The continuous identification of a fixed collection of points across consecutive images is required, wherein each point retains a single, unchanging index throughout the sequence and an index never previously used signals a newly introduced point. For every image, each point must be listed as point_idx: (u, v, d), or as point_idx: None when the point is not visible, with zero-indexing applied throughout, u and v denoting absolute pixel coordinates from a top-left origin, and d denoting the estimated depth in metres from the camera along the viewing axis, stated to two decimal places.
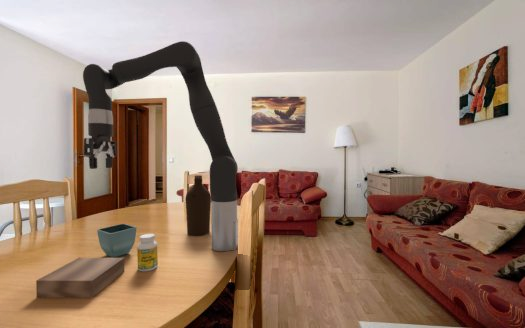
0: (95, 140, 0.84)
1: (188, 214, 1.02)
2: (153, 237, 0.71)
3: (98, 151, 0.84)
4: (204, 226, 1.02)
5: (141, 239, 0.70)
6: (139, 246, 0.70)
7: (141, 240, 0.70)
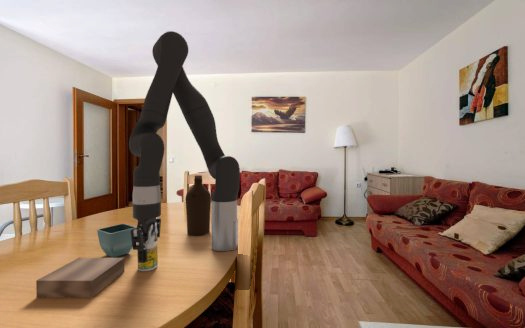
0: (142, 227, 0.68)
1: (188, 214, 1.02)
2: (153, 237, 0.71)
3: (147, 240, 0.69)
4: (204, 226, 1.02)
5: None
6: None
7: None
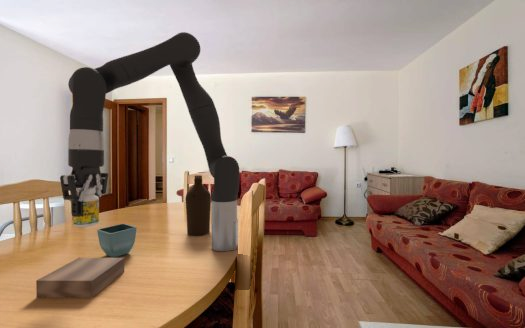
0: (77, 175, 0.59)
1: (188, 214, 1.02)
2: (93, 190, 0.63)
3: (83, 191, 0.60)
4: (204, 226, 1.02)
5: None
6: None
7: None
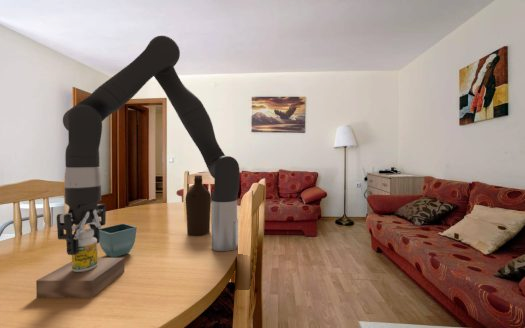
0: (74, 213, 0.58)
1: (188, 214, 1.02)
2: (91, 233, 0.62)
3: (79, 229, 0.59)
4: (204, 226, 1.02)
5: None
6: None
7: None
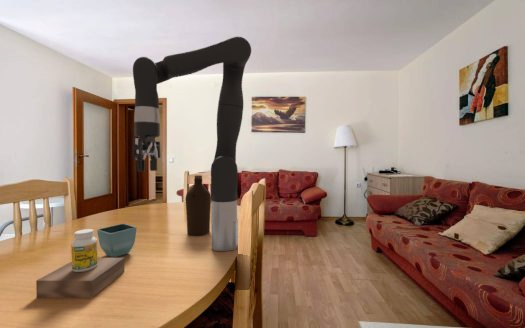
0: (143, 140, 0.76)
1: (188, 214, 1.02)
2: (91, 233, 0.62)
3: (146, 153, 0.76)
4: (204, 226, 1.02)
5: (75, 235, 0.61)
6: (73, 243, 0.61)
7: (75, 236, 0.61)
